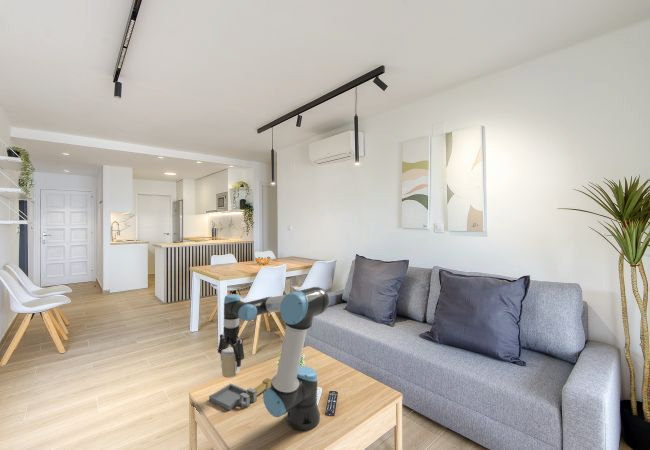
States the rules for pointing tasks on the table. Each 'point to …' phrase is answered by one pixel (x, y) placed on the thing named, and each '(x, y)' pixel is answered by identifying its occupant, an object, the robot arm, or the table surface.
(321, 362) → the table surface
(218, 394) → the dock tray
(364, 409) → the table surface
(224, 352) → the coffee cup
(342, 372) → the table surface
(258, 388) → the lock pin
